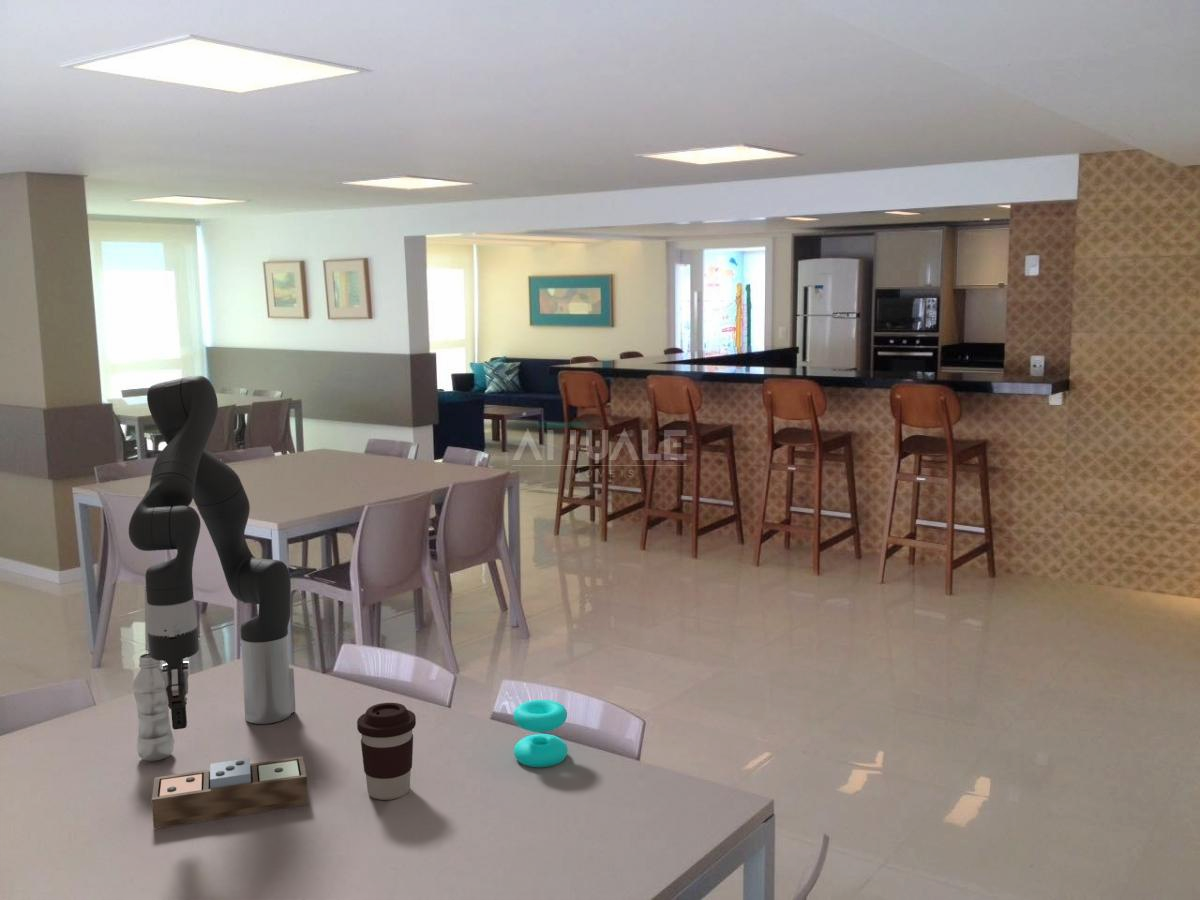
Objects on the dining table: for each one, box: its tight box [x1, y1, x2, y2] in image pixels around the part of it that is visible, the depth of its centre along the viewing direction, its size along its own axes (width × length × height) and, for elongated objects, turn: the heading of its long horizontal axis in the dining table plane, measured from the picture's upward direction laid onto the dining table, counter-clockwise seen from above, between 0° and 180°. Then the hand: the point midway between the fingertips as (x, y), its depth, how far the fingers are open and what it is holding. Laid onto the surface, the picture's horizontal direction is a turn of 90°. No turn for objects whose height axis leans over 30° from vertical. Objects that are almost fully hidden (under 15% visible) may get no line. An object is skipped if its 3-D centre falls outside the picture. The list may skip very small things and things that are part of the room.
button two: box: [159, 774, 203, 797], centre depth 174 cm, size 6×6×3 cm
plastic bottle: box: [132, 652, 175, 762], centre depth 195 cm, size 6×7×20 cm
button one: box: [259, 760, 299, 782], centre depth 179 cm, size 6×6×3 cm
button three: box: [209, 758, 251, 789], centre depth 177 cm, size 6×6×3 cm
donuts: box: [512, 699, 569, 768], centre depth 195 cm, size 10×10×10 cm
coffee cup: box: [356, 702, 417, 801], centre depth 181 cm, size 10×10×15 cm
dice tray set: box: [151, 755, 309, 829], centre depth 177 cm, size 24×9×5 cm, turn 110°
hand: (179, 727), depth 173 cm, fingers closed
